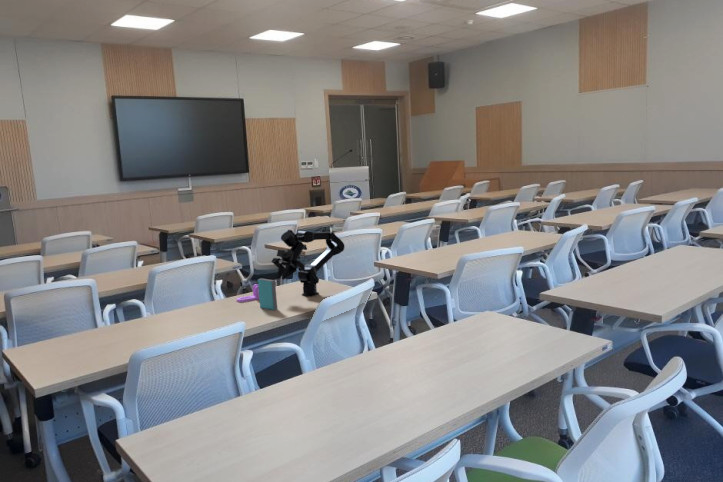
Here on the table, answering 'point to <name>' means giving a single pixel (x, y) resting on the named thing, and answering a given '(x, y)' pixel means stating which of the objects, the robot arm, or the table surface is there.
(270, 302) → the tile
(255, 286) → the bracket
